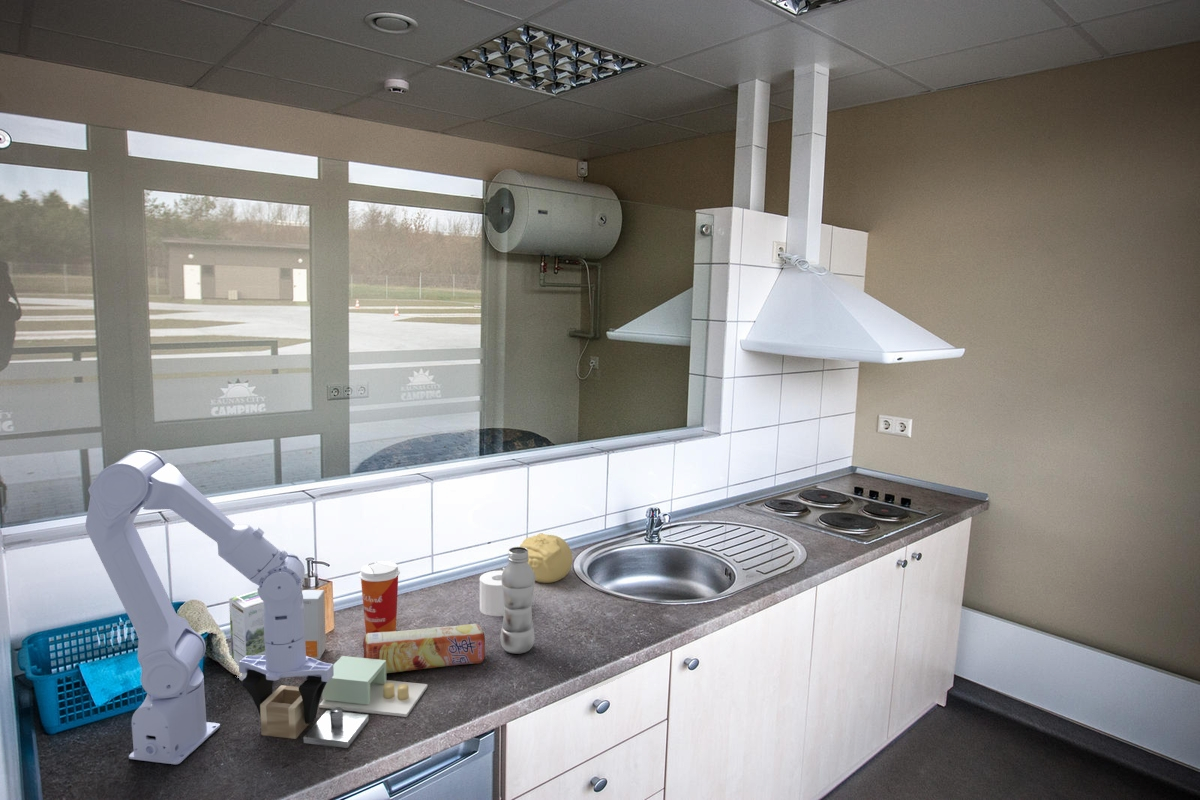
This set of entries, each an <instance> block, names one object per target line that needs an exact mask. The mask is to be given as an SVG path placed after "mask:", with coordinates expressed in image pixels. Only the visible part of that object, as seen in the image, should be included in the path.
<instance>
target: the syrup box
mask: <svg viewBox="0 0 1200 800" xmlns="http://www.w3.org/2000/svg"><path fill="white" fill-rule="evenodd" d="M228 600H229V602H228V603H229V605H228V606H229V621H230V622H229V624H230V627H229V629H230V646H231V647H230V648H231V649H230V650H231V659H232V658H233V659H234V661H235V662H236V663H237V665H238V666H239V661H240V660H242V659H243V658H244V657H245V656H261V655H265V639H264V618H263V611H264V601H263V600H262V599H261V598H260V596H259V594H258V590H257V589H256V590H254V591H250V592H247V593H244V594H241V595H238V596H233V597H231V598H229V599H228ZM246 675H247V673H242V676H241V677H238V676H237V677H236V678H237V679H238V678H239V680H240V681H241V682H242V680H243V679H245V678H246Z"/></svg>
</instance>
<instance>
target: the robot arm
mask: <svg viewBox="0 0 1200 800" xmlns="http://www.w3.org/2000/svg"><path fill="white" fill-rule="evenodd" d="M87 490H88V493H89V502H88V508H87V513H86V519H85V530H86V532H87V534H88V536H89V538H90V539H89V540H91V543H92V545H93V547H94V549H95V551H96V552H97V555H98V557H99V559H100V561H101V563H102V565H103V567H104V569H105V571H106V574H107V575H108V578H109V580H110V581H111V583H112V586H113V587H114V590H115V592H116V595H117V596H118V598H119V600H120V602H121V604H122V606H123V607H124V610H125V612H126V615H127V616H128V618H129V621H130V622H131V624H132V626H133V629H134V630H135V633H136V634H137V637H138V644H137V660H138V661H137V662H138V663H139V666H140V668H141V669H140V671H141V673H140V684H141V686H142V688H143V690H144V692H146V693H147V694H146V695H145V696H146V697H145V699H144V700H143V702H142V704H141V705H139V707H138V708H137V709H136V710H135V711H134V713H133V714H132V717H131V735H132V744H133V745H132V746H133V747H132V748H133V751H132V752H131V753H130V754H129V755H128V759H130V760H136V761H144V762H152V763H161V764H168V765H170V764H171V765H179V764H181V763H182V762H183V761H184V760H186V758H187V757H189V755H191V754H192V753H193V752H194V751H195V750H196V749H197V748H199V746H201V745H202V744H203V743H204V742H205V741H206V740H207V739H208V738H209V737H210V736H212V735H213V734H214V733H215V732H216V731H218V729H220V728H221V723H218V722H217V723H216V722H211V721H210V722H209V721H207V712H206V708H207V707H206V698H205V695H206V693H205V679H204V678H205V677H204V673H203V672H202V670H201V668H200V666H199V665H200V662H201V660H202V659H203V657H204V656H205V653H206V650H207V649H206V647H207V646H206V642H205V639H204V637H203V636H202V635H201V634H199V632H197V631H196V630H194V629H193V628H192V627H191V625H190V624H189V622H188V619H186V618H184V617H182V616H179V615H178V614H177V613H176V610H175V608H174V607H173V604H172V602H171V600H170V598H169V596H168V594H167V591H166V589H165V587H164V585H163V583H162V581H161V579H160V577H159V574H158V573H157V570H156V568H155V565H154V564H153V561H152V559H151V557H150V555H149V553H148V551H147V549H146V547H145V544H144V542H143V541H142V538H141V535H140V534H139V532H138V529H137V528H136V525H135V524H134V521H135V518H136V517H137V515H138V514H139V512H140V510H141V509H142V507H143V505H144V504H145V505H144V507H143V510H146V511H147V510H148V511H150V510H151V511H154V510H155V511H157V510H171V511H173V512H174V513H176V514H177V515H178V516H179V517H180V518H182V519H184V520H185V521H187V522H188V523H189V524H191V525H192V526H193V527H195V528H196V529H197V530H199V531H200V532H201V533H203V534H204V535H206V536H207V537H209V538H211V540H213V541H214V542H215V543H216V544H217V553H218V556H219V557H220V558H222V559H223V560H224V561H225V562H226V563H228V564H229V565H230V566H231V567H233V568H234V569H235V570H236V571H237V572H239V573H240V574H241V575H243V576H244V577H245V578H246V579H248V580H249V581H250V582H251V583H253V584H255V585H257V586H258V588H257V589H256V590H258V594H259V596H260V598H261V599H262V600H263V601H264V611H263V618H264V639H265V655H261V656H245V657H244V658H243V659H242V660H240V661H239V672H240V673H247V675H246V678H245V679H243V680H242V681H241V684H242V685H241V686H242V687H243V688H244V689H245V690H246V691H247V693H248V694H249V695H250V697H251V698H252V700H253V702H254V704H255V706H256V709H257V711H258V714H259V717H260V718H261V714H260V704H261V703H263V702H264V701H265V700H266V699H267V698H268V697H269V696H270V695H271V694H272V693H273V684H274V681H279V680H280V679H283V678H293V677H298V678H300V677H301V678H306V680H304V681H303V682H302V683H301V685H299V686H298V687H299V691H300V694H301V696H302V700H303V705H304V719H305V724H309V725H311V723H312V722H313V721H314V720H315V719H316V718H317V714H318V709H319V704H320V700H321V699H322V692H323V690H324V687H325V685H326V683H327V682H328V681H329V680H330V679H331V678H332V677H333V676H334V667H333V665H334V663H328V662H324V661H321V660H320V659H313V658H311V657H308V656H306V645H305V618H304V604H303V594H302V590H303V587H302V585H303V582H304V578H305V573H306V571H305V566H304V564H303V562H302V560H300V558H299V557H298V555H296V554H293V553H288V552H287V551H285V550H284V549H283V550H280V549H279V548H277V546H275V545H274V544H273V543H271V542H270V541H269V540H267V539H266V538H265V537H264V534H265V532H264V530H262V529H261V528H260V527H256V528H253V527H252V526H251V525H249V524H235V523H234V522H233V521H232V520H231V519H230V518H228V516H226V515H225V514H224V513H223V512H222V511H221V510H220V509H219V508H218V507H217V506H216V505H214V504H213V503H212V501H210V500H209V499H208V498H207V497H206V496H205V495H203V494H202V493H201V491H199V490H198V489H197V488H196V487H195V486H194V485H193V484H192V483H191V482H189V481H188V479H186V478H185V476H184V475H183V474H182V473H181V471H180V470H179V469H178V468H177V467H176V466H175V465H173V464H171V463H170V462H166V461H165V459H164V458H163V457H162V456H161V455H160V454H158V453H157V452H154V451H153V450H148V449H137V450H132V451H131V452H128V454H126V455H125V456H123V458H121V459H119V460H118V461H116V462H115V463H113V464H110V465H107V467H105V468H103V469H102V470H101V471H100V472H99V473H98V474H97V476H96V478H95V479H94V481H92V482H91V484H90V486H89V487H88V489H87ZM145 502H146V503H145Z"/></svg>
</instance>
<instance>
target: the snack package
mask: <svg viewBox="0 0 1200 800" xmlns="http://www.w3.org/2000/svg"><path fill="white" fill-rule="evenodd" d="M485 638H486V637H485V633H484V631H483V628H482V626H480V624H478V623H470V624H460V625H450V626H437V627H427V628H417V629H409V630H407V629H406V630H396V631H392V632H377V633H367V634H366V633H365V635H364V637H363V640H362V641H363V645H362V646H363V658H369V659H379V660H386V674H391V673H400V672H401V673H402V672H409V671H410V672H411V671H417V670H423V669H424V670H425V669H432V668H442V667H448V666H449V667H451V666H459V665H469V664H470V665H471V664H480V663H482V662H483V661H484V659H485V655H486V650H485V649H486V639H485Z"/></svg>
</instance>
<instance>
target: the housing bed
mask: <svg viewBox="0 0 1200 800" xmlns="http://www.w3.org/2000/svg"><path fill="white" fill-rule="evenodd" d="M427 688H428V683H419V682H407V681H400V680H399V681H398V680H397V681H396V680H390V679H388V680H387V679H386V683H385V684H377V683H370V703H369V704H359V703H349V702H340V701H330V700H322V701H321V702H319V705H318V709H320V708H322V709H327V710H328V709H329V710H331V709H333V708H336V707H340V708H342V709H343V711H348V712H358V713H367V714H373V715H374V714H375V715H376V714H377V715H384V716H393V717H394V716H395V717H404V718H407V717H408V716H409V714H410V713H411V711H412V710H413V709H414V707H415V705H416V704H417V703H418V701H419V700H420V698H421V697H423V696H422V695H423V694H424V693H425V692H426V690H427Z"/></svg>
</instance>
